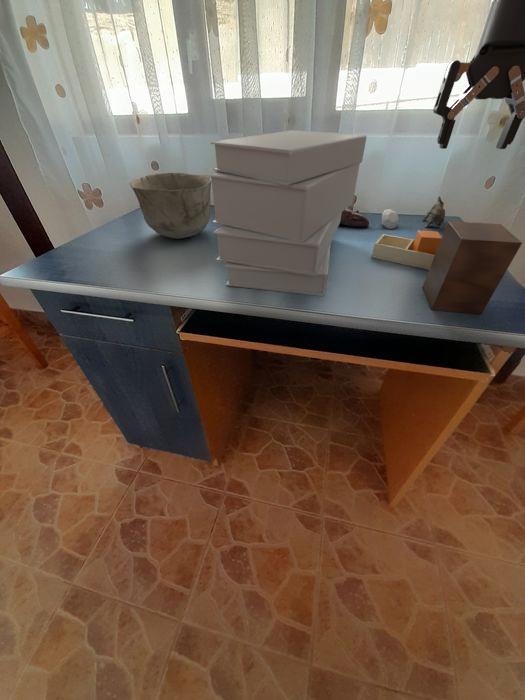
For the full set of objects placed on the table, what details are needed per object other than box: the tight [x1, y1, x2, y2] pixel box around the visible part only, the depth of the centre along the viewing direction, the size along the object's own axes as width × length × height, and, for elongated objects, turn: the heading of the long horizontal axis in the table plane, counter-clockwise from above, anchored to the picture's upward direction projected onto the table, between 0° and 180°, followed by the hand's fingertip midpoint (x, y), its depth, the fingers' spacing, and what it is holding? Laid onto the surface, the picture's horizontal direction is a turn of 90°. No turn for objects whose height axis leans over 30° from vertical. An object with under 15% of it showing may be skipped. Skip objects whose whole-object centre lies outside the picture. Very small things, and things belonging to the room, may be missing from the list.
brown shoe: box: [339, 207, 370, 228], centre depth 94 cm, size 6×12×11 cm
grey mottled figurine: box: [421, 196, 446, 230], centre depth 91 cm, size 12×6×7 cm, turn 158°
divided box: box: [371, 233, 435, 271], centre depth 73 cm, size 8×22×4 cm, turn 57°
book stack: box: [206, 129, 367, 297], centre depth 68 cm, size 30×35×26 cm
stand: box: [422, 220, 523, 316], centre depth 56 cm, size 9×9×14 cm
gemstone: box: [381, 208, 400, 230], centre depth 93 cm, size 6×6×5 cm
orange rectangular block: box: [412, 229, 442, 255], centre depth 72 cm, size 4×4×6 cm
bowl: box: [129, 172, 212, 240], centre depth 85 cm, size 22×22×15 cm
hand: (471, 148), depth 48 cm, fingers open, 8 cm apart
